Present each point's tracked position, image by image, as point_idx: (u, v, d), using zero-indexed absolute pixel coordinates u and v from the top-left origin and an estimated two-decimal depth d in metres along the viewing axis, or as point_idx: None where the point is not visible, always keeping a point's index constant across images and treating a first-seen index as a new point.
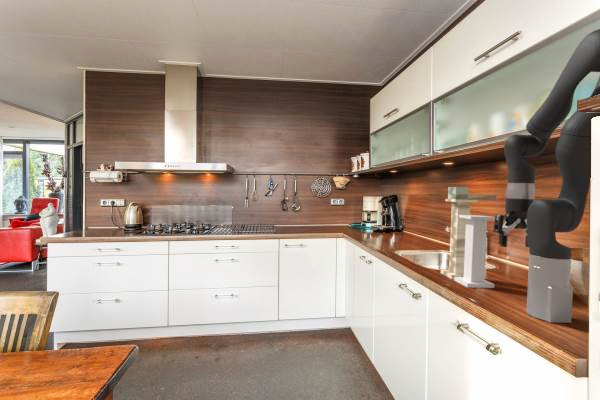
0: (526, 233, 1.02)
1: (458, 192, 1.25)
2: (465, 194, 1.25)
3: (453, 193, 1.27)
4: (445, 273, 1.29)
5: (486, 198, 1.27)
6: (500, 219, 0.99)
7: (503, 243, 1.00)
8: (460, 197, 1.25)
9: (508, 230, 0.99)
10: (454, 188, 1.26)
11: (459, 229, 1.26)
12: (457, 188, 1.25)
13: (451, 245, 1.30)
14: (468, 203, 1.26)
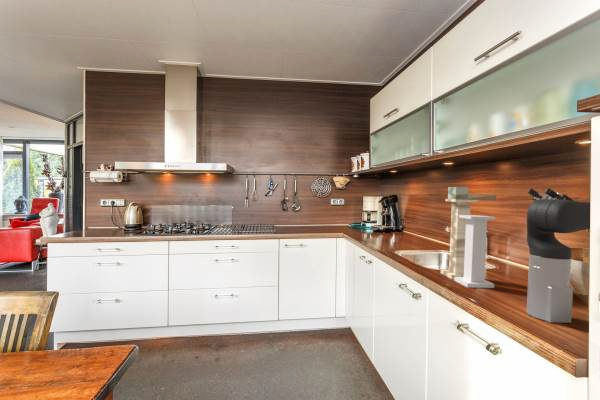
0: (539, 193, 1.27)
1: (458, 192, 1.25)
2: (465, 194, 1.25)
3: (453, 193, 1.27)
4: (445, 273, 1.29)
5: (486, 198, 1.27)
6: None
7: (549, 193, 1.18)
8: (460, 197, 1.25)
9: None
10: (454, 188, 1.26)
11: (459, 229, 1.26)
12: (457, 188, 1.25)
13: (451, 245, 1.30)
14: (468, 203, 1.26)
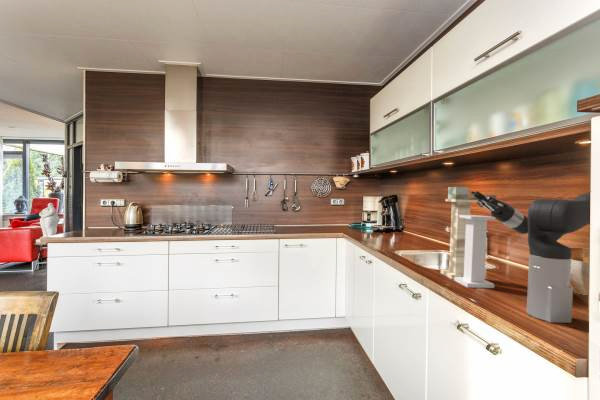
0: None
1: (458, 192, 1.25)
2: (465, 194, 1.25)
3: (453, 193, 1.27)
4: (445, 273, 1.29)
5: None
6: (497, 206, 1.23)
7: (477, 196, 1.26)
8: (460, 197, 1.25)
9: (485, 203, 1.27)
10: (454, 188, 1.26)
11: (459, 229, 1.26)
12: (457, 188, 1.25)
13: (451, 245, 1.30)
14: (468, 203, 1.26)
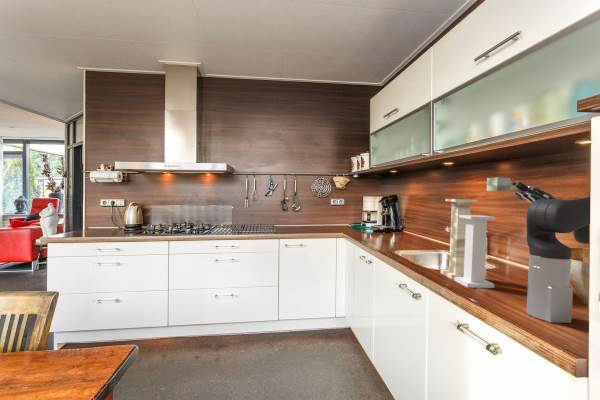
0: None
1: (499, 183, 1.15)
2: (507, 185, 1.15)
3: (494, 184, 1.16)
4: (445, 273, 1.29)
5: None
6: (543, 198, 1.13)
7: (520, 187, 1.16)
8: (502, 189, 1.15)
9: (528, 194, 1.17)
10: (495, 179, 1.16)
11: (459, 229, 1.26)
12: (499, 179, 1.15)
13: (451, 245, 1.30)
14: (468, 203, 1.26)
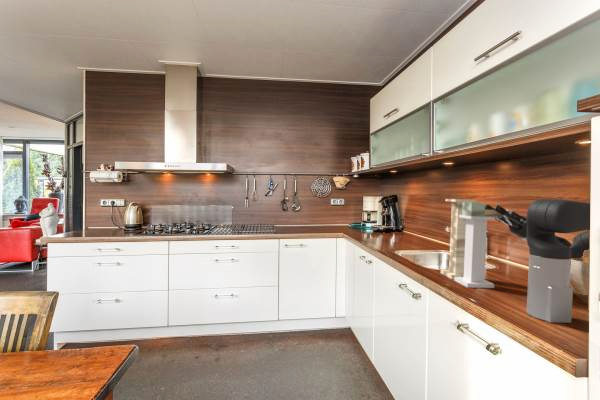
0: None
1: (473, 208, 1.14)
2: (482, 211, 1.14)
3: (468, 209, 1.16)
4: (445, 273, 1.29)
5: None
6: (520, 223, 1.11)
7: (498, 210, 1.14)
8: (476, 214, 1.14)
9: (506, 218, 1.15)
10: (469, 204, 1.15)
11: (459, 229, 1.26)
12: (473, 204, 1.14)
13: (451, 245, 1.30)
14: None
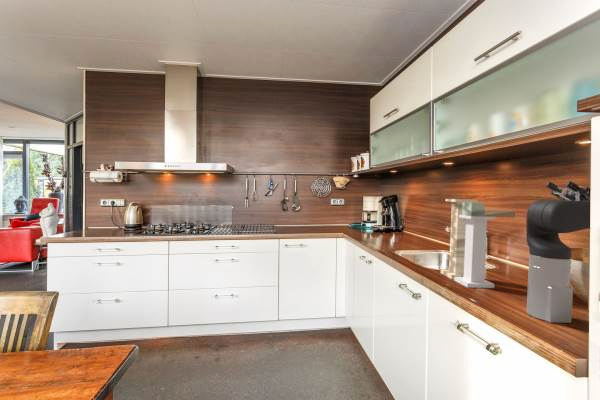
0: (559, 187, 1.18)
1: (473, 208, 1.14)
2: (482, 211, 1.14)
3: (468, 209, 1.16)
4: (445, 273, 1.29)
5: (504, 215, 1.16)
6: None
7: (570, 187, 1.09)
8: (476, 214, 1.14)
9: (577, 194, 1.10)
10: (469, 204, 1.15)
11: (459, 229, 1.26)
12: (473, 204, 1.14)
13: (451, 245, 1.30)
14: None
